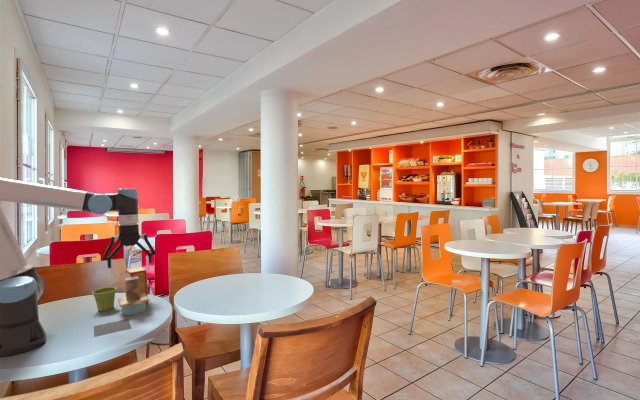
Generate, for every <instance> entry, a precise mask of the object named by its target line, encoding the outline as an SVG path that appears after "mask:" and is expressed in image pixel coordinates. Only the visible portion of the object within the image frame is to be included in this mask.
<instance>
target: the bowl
mask: <svg viewBox="0 0 640 400" xmlns="http://www.w3.org/2000/svg"><path fill="white" fill-rule="evenodd" d="M120 308H121V314H122V315H123V316H132V315H136V314H141V313H143V312H145V311H146V310H147V303H146V302H145V303H140V304H135V305H129V306H124V307H120Z"/></svg>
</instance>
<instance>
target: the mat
mask: <svg viewBox="0 0 640 400" xmlns="http://www.w3.org/2000/svg"><path fill="white" fill-rule="evenodd" d="M131 329H132V326H131V322H130V320H129V318H126V319H121V320H116V321H112V322H107V323H102V324H97V325H94V326H93V337H94V338H95V337H99V336H104V335H109V334H114V333H117V332H118V333H119V332H123V331H126V330H131Z"/></svg>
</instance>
